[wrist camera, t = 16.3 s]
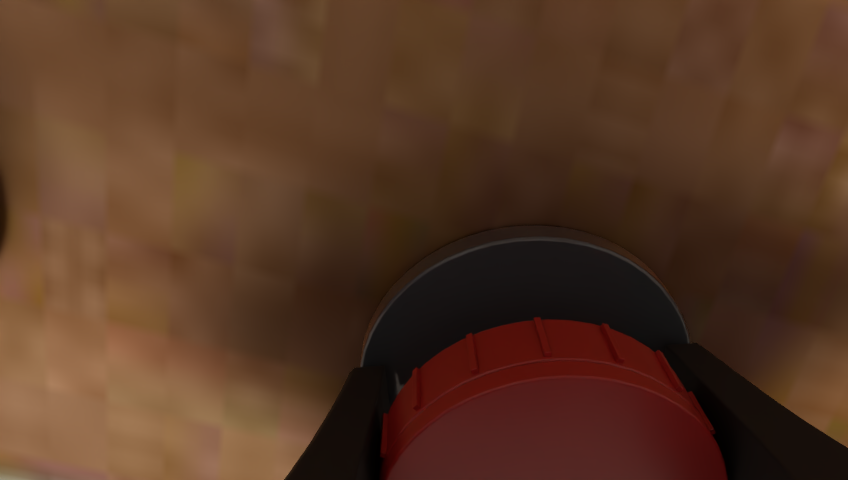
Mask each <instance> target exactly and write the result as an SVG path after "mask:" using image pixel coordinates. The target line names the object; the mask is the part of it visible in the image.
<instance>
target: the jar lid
mask: <svg viewBox="0 0 848 480" xmlns="http://www.w3.org/2000/svg"><path fill="white" fill-rule="evenodd" d="M713 434H716V432H715V430H714V428H713V426H712V425H711V423H710V421H709V419H708V418H707V416H706V414H705V413H704V411H703V409H702V408H701V406H700V404H699V403H698V401H697V399H696V398H695V396H694V394H693V393H692V391H690V392H687V391H686V389H685V387H684V386H683V384H682V383H681V381H680V379H679V378H678V376H677V375H676V373H675V372H674V371H673V369H672V368H671V367H670V365H669V363H668V362H667V360H666V358H665V356H664V355H663V353H662V352H661V351H660V350H657V351H656V352H654V351H652V350H651V349H650V348H649V347H647V346H645V345H644V344H642V343H640V342H639V341H637V340H635V339H634V338H632V337H630V336H627V335H625V334H623V333H620V332H618V331H615V330H613V329H610V327H609V325H608V324H604V323H602V325H601V326H599V325H595V324H592V323H586V322H579V321H572V320H553V319H545V320H541V318H540V317H535V318H534V320H531V321H522V322H517V323H511V324H506V325H501V326H498V327H494V328H491V329H488V330H484V331H481V332H479V333H476V334H474V335H473V334H472V333H469V334H467V335H466V338H465V339H462V340H460V341H458V342H457V343H455V344H453V345H451V346H450V347H448V348H446V349H444V350H443V351H441V352H440V353H438V354H437V355H436V356H434V357H433V358H432V359H430V360H429V361H428V362H426V363H425V364H424V365H423V366H422V367H421V368H420V369H418V368H417V367H416V368H415V369H414V370H413V371H412V377H411V378H410V379H409V380H408V382H407V383H406V384H405V385H404V387H403V388H402V389H401V390H400V392H399V393H398V395H397V397H396V399H395V400H394V402H393V404H392V405H391V407H390V410H389V412H388V414H386V413H383V416H382V425H381V442H380V468H379V480H728V475H727V470H726V465H725V460H724V458H723V455H722V453H721V451H720V448H719V446H718V444H717V442H716V440H715V439H714V437H713Z"/></svg>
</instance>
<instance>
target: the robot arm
mask: <svg viewBox="0 0 848 480" xmlns="http://www.w3.org/2000/svg"><path fill="white" fill-rule="evenodd" d="M664 356H665V358H666V360H667V362H668V363H669V365H670V367H671V368H672V369H673V371H674V372H675V373H676V375H677V376H678V378H679V379H680V381H681V383H682V384H683V386H684V387H685V389H686V391H687V392H690V391H692V393H693V394H694V396H695V398H696V399H697V401H698V403H699V404H700V406H701V408H702V409H703V411H704V413H705V414H706V416H707V418H708V419H709V421H710V423H711V425H712V426H713V428H714V430H715V432H716V434H713V437H714V439H715V440H716V442H717V444H718V446H719V448H720V451H721V453H722V455H723V458H724V460H725V465H726V470H727V475H728V480H848V448H847V447H845V446H844V445H842V444H840V443H839V442H837V441H835V440H834V439H832V438H831V437H829V436H828V435H826V434H824V433H823V432H821V431H820V430H818V429H817V428H815V427H814V426H812V425H810V424H809V423H807V422H806V421H804V420H803V419H801V418H800V417H798V416H797V415H795V414H794V413H792V412H791V411H789V410H788V409H787V408H785V407H784V406H782V405H781V404H779V403H778V402H776V401H775V400H774V399H772V398H771V397H769V396H768V395H767V394H765V393H764V392H762V391H761V390H760V389H758V388H757V387H756V386H754V385H753V384H752V383H750V382H749V381H747V380H746V379H745V378H743V377H742V376H741V375H739V374H738V373H737V372H735V371H734V370H733V369H731V368H730V367H729V366H727V365H726V364H725V363H723V362H722V361H721V360H719V359H718V358H717V357H715V356H714V355H713V354H711V353H710V352H709V351H707V350H706V349H704V348H703V347H702V346H700V345H699V344H697V343H687V344H673V345H665V351H664ZM389 410H390V403H389V396H388V388H387V381H386V373H385V366H370V367H356V368H354V369H353V370H352V371H351V372H350V373H349V375H348V377H347V379H346V381H345V383H344V385H343V387H342V389H341V391H340V393H339V395H338V397H337V399H336V401H335V402H334V404H333V406H332V408H331V409H330V411H329V413H328V415H327V416H326V418H325V420H324V421H323V423H322V425H321V426H320V428H319V429H318V431H317V433H316V434H315V436H314V438H313V439H312V441H311V442H310V444H309V445H308V447H307V448H306V450H305V451H304V453H303V454H302V455H301V457H300V458H299V460H298V461H297V463H296V464H295V465H294V467H293V468H292V470H291V471H290V473H289V474H288V475H287V477H286V478H285V479H284V480H379V468H380V442H381V425H382V416H383V413H386V414H388V412H389Z"/></svg>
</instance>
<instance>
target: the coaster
mask: <svg viewBox="0 0 848 480" xmlns="http://www.w3.org/2000/svg"><path fill="white" fill-rule="evenodd" d="M535 317H540V318H541V320H545V319H553V320H572V321H579V322H586V323H592V324H595V325H599V326H601V325H602V323H604V324H608V325H609V327H610V329H613V330H615V331H618V332H620V333H623V334H625V335H627V336H630V337H632V338H634V339H635V340H637V341H639V342H640V343H642V344H644V345H645V346H647V347H649V348H650V349H651V350H652V351H654V352H656V351H657V350H660V351H661V352H662V353H663V355H664V351H665V345H673V344H687V343H691V342H690V336H689V331H688V329H687V326H686V323H685V320H684V317H683V315H682V313H681V311H680V309H679V308H678V306H677V304H676V302H675V300H674V299H673V297H672V296H671V294H670V293H669V291H668V290H667V288H666V287H665V286H664V284H663V283H662V282H661V281H660V279H659V278H658V277H657V276H656V274H655V273H654V272H653V271H652V270H651V269H650V268H649V267H648V266H646V265H645V264H644V263H643V262H642V261H641V260H640V259H639V258H637V257H636V256H634V255H633V254H631V253H630V252H628V251H627V250H625V249H624V248H622V247H620V246H618V245H616V244H614V243H612V242H610V241H608V240H606V239H604V238H601V237H598V236H595V235H592V234H589V233H586V232H583V231H579V230H574V229H569V228H563V227H558V226H543V225H525V226H510V227H504V228H498V229H493V230H488V231H484V232H481V233H477V234H474V235H471V236H467V237H465V238H462V239H460V240H458V241H455V242H453V243H451V244H448V245H446V246H444V247H442V248H441V249H439V250H437V251H435V252H434V253H432V254H430V255H428V256H427V257H425V258H424V259H423V260H421V261H420V262H419V263H417V264H416V265H415V266H413V267H412V268H411V269H409V270H408V271H407V272H406V273H405V274H404V275H403V276H402V277H401V278H400V279H399V280H398V281H397V282H396V283H395V284H394V285H393V286H392V287H391V289H390V290H389V291H388V293H387V294H386V295H385V297H384V298H383V299H382V300H381V302H380V304H379V305H378V307H377V309H376V311H375V313H374V314H373V316H372V318H371V321H370V323H369V326H368V328H367V331H366V334H365V337H364V342H363V347H362V352H361V359H360V367H370V366H385V373H386V381H387V388H388V396H389V403H390V407H391V405H392V404H393V402H394V400H395V399H396V397H397V395H398V393H399V392H400V390H401V389H402V388H403V387H404V385H405V384H406V383H407V382H408V380H409V379H410V378H411V377H412V371H413V370H414V369H415V368H416V367H417V368H418V369H420V368H421V367H422V366H423V365H424V364H425V363H426V362H428V361H429V360H430V359H432V358H433V357H434V356H436V355H437V354H438V353H440V352H441V351H443V350H444V349H446V348H448V347H450V346H451V345H453V344H455V343H457V342H458V341H460V340H462V339H465V338H466V335H467V334H469V333H472V334H473V335H474V334H476V333H479V332H481V331H484V330H488V329H491V328H494V327H498V326H501V325H506V324H511V323H517V322H522V321H531V320H534V318H535Z"/></svg>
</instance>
